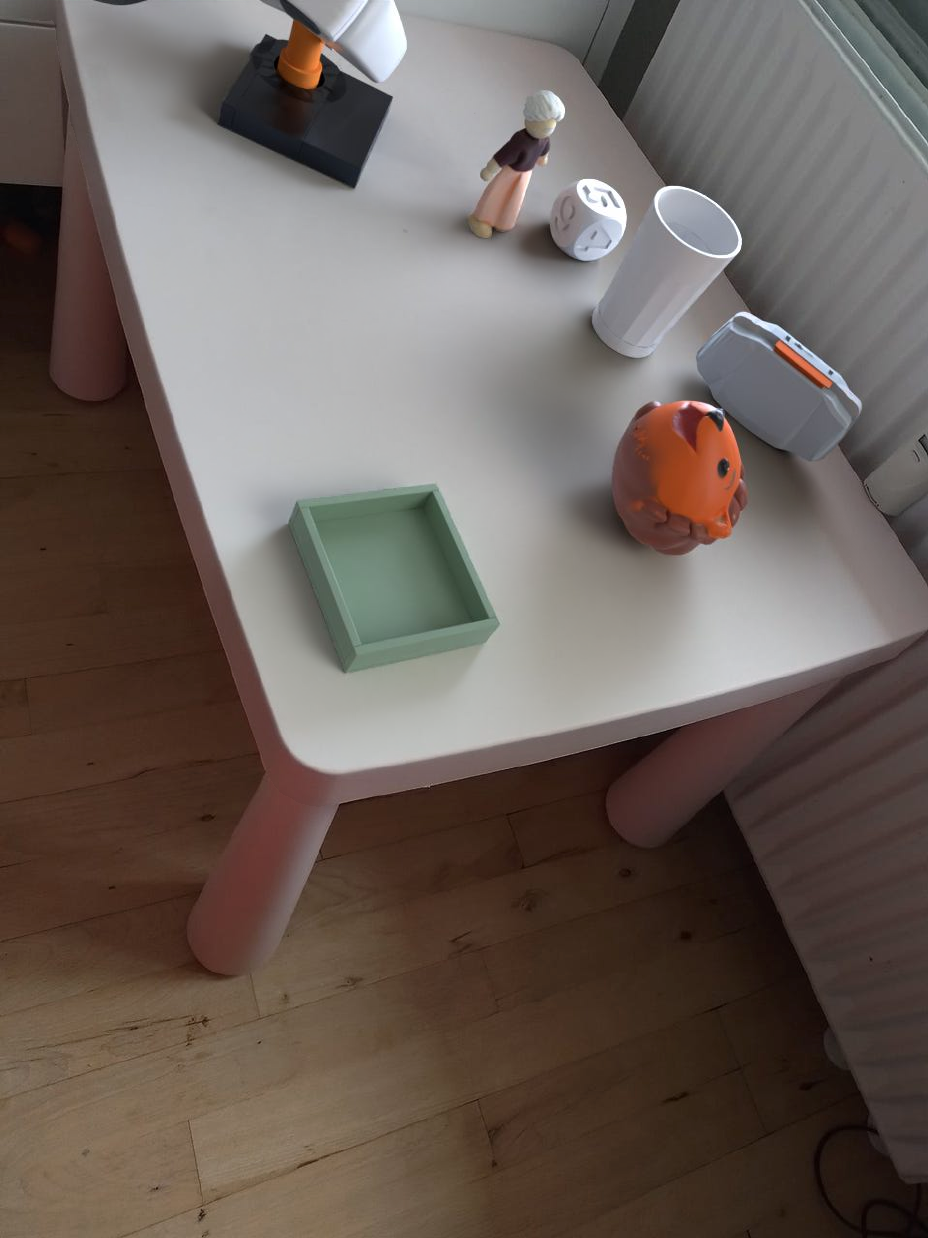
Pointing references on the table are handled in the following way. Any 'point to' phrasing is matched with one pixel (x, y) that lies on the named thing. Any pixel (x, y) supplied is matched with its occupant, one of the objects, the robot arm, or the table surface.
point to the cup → (665, 270)
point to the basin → (391, 575)
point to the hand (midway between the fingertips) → (315, 24)
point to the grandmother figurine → (516, 166)
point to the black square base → (306, 114)
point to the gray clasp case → (777, 387)
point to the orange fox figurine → (678, 476)
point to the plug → (301, 58)
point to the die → (587, 219)
